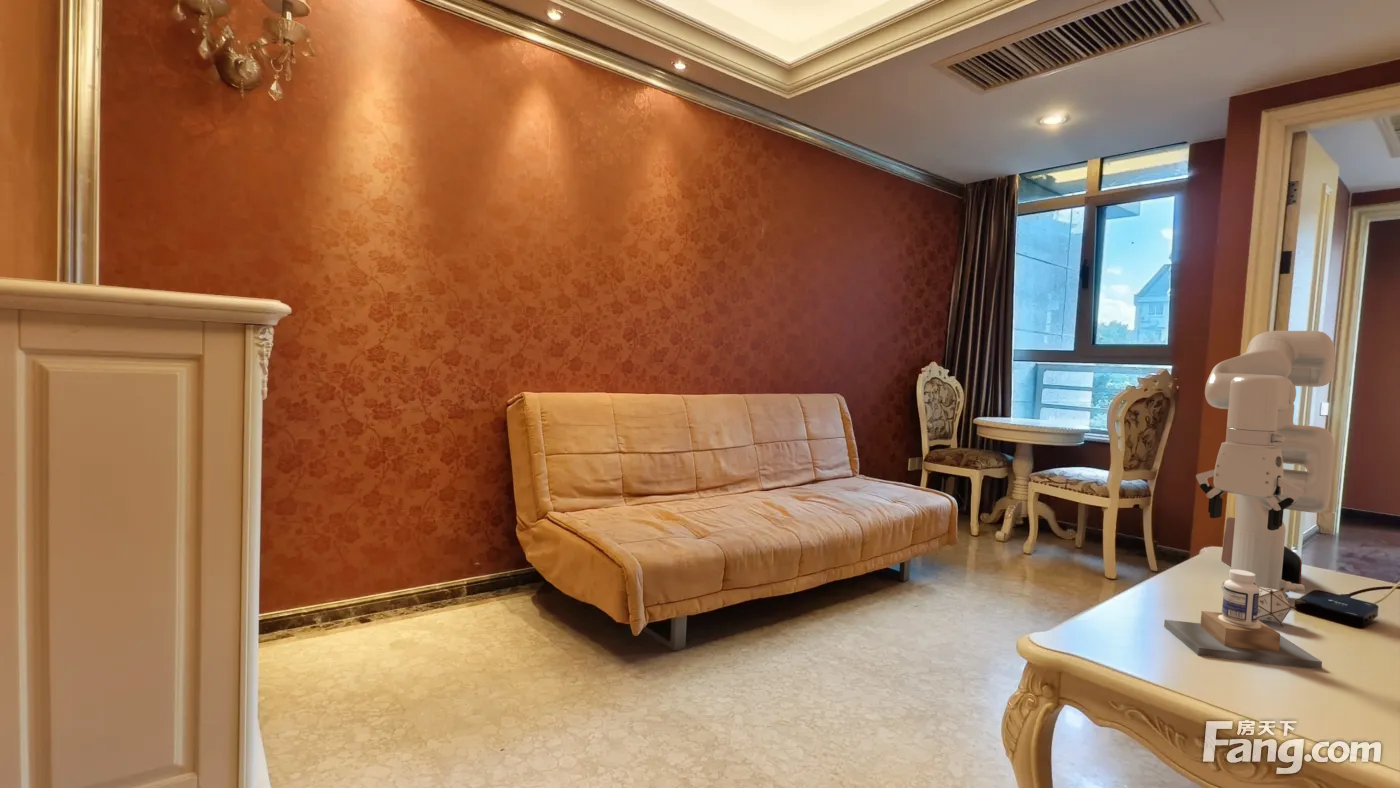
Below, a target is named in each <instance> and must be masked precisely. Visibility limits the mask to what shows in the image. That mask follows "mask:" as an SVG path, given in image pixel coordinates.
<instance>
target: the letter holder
mask: <svg viewBox="0 0 1400 788" xmlns="http://www.w3.org/2000/svg"><path fill="white" fill-rule="evenodd" d="M1234 526H1235V517H1227V518H1226V522H1225V530H1224V535H1223V545H1222V550H1221V551H1222V553H1221V559H1220V560H1221V562H1223V563H1224V564H1226V565H1227V566H1229V567H1230V568H1231V563H1232V551H1233V538H1234ZM1302 564H1303V563H1302V558H1301V557H1300V555H1299V554H1297V553H1296V552H1295V551H1293V550H1291V549H1290V548H1288V547H1287V546H1285V545H1284V555H1283V566H1282V578H1281V579H1282V580H1284V581H1286V582H1291V584H1302V567H1303V566H1302Z"/></svg>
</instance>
